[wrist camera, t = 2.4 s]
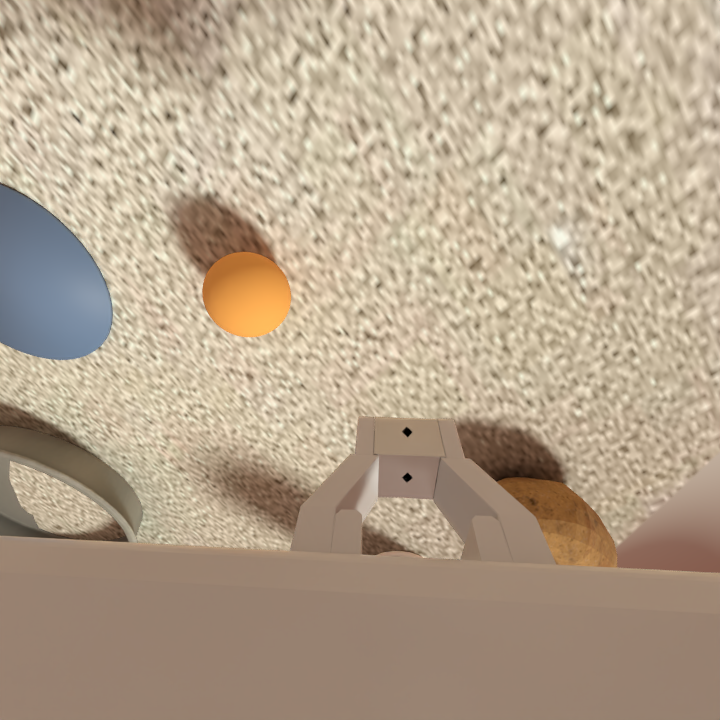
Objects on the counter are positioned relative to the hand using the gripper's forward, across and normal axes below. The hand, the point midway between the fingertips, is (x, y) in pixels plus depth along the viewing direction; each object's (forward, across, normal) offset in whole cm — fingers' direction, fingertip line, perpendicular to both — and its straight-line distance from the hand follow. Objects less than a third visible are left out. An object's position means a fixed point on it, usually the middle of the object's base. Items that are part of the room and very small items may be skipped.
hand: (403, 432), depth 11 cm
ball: (+12, +10, 0) cm, 16 cm away
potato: (+15, -14, +22) cm, 30 cm away
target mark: (+15, +28, 0) cm, 32 cm away
